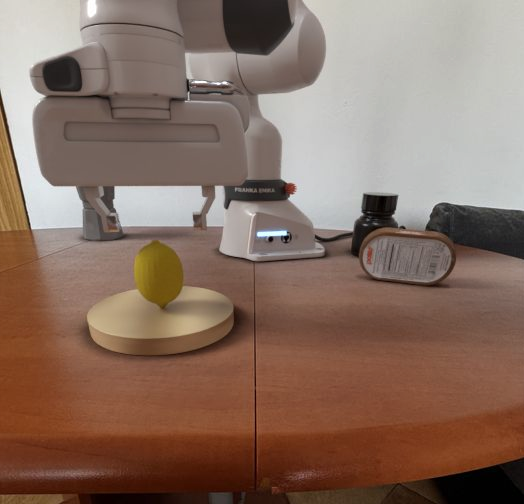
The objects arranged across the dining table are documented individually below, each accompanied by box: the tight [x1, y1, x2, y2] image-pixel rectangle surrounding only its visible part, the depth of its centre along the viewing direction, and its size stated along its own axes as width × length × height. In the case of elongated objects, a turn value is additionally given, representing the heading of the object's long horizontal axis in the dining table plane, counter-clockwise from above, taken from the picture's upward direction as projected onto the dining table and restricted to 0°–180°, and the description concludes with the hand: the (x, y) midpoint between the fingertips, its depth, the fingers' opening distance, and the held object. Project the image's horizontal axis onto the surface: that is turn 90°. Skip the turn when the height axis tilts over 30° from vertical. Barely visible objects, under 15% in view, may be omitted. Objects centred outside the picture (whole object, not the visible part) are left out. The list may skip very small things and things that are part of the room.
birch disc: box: [86, 285, 235, 357], centre depth 46 cm, size 17×17×2 cm
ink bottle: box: [350, 191, 399, 257], centre depth 78 cm, size 10×9×12 cm
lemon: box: [133, 239, 185, 308], centre depth 44 cm, size 6×6×8 cm
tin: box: [358, 227, 457, 286], centre depth 61 cm, size 15×3×8 cm, turn 71°
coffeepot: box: [75, 186, 125, 242], centre depth 88 cm, size 15×9×18 cm, turn 12°
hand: (157, 230), depth 42 cm, fingers open, 8 cm apart
